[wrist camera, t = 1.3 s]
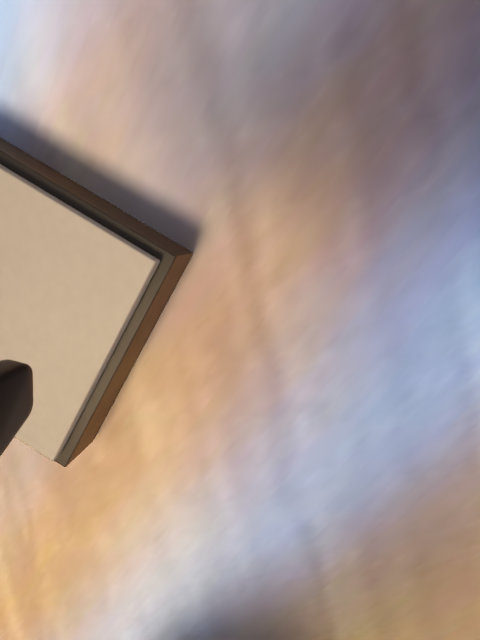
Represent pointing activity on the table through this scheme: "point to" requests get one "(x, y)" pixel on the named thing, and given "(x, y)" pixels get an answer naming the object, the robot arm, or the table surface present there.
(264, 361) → the table surface
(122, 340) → the kitchen scale
